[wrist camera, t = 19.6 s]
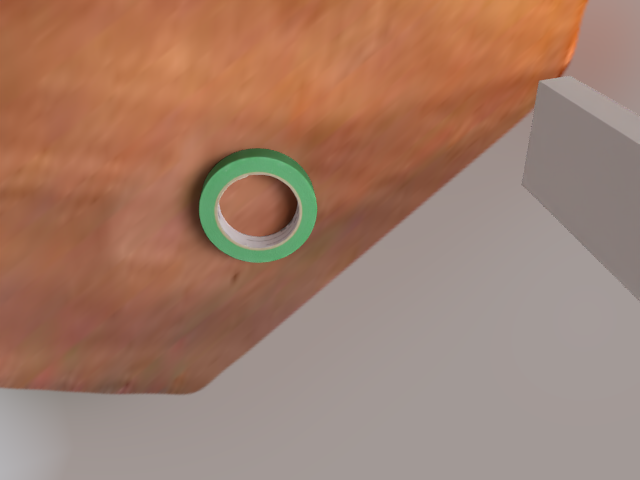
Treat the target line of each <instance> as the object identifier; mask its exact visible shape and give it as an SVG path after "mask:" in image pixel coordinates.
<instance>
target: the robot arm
mask: <svg viewBox="0 0 640 480" xmlns="http://www.w3.org/2000/svg"><path fill="white" fill-rule="evenodd" d="M522 185H523V186H524V187H525V188H526V189H527V190H528V191H529V192H530V193H531V194H532V195H533V196H534V197H535V198H536V199H537V200H538V201H539V202H540V203H541V204H542V205H543V206H544V207H545V208H546V209H547V210H548V211H549V212H550V213H551V214H552V215H553V216H554V217H555V218H556V219H557V220H558V221H559V222H560V223H561V224H562V225H563V226H564V227H565V228H566V229H567V230H568V231H570V233H571V234H572V235H573V236H574V237H575V238H576V239H577V240H578V241H579V242H580V243H581V244H582V245H583V246H584V247H585V248H586V249H587V250H588V251H589V252H590V253H591V254H592V255H593V256H594V257H595V258H596V259H597V260H598V261H599V262H601V264H603V265H604V266H605V268H606V269H607V270H609V271H610V273H612V275H614V276H615V277H616V278H617V279H618V280H619V281H620V282H621V283H622V284H623V285H624V286H625V287H626V288H627V289H628V290H629V291H630V292H631V293H632V294H633V295H634V296H635V297H636V298H637V299H638V300H639V301H640V115H638V114H636V113H635V112H633V111H631V110H629V109H628V108H626V107H624V106H622V105H621V104H619V103H617V102H615V101H614V100H612V99H610V98H608V97H606V96H605V95H603V94H601V93H599V92H598V91H596V90H594V89H592V88H591V87H589V86H587V85H585V84H584V83H582V82H580V81H578V80H576V79H575V78H573V77H571V76H566V77H560V78H554V79H547V80H541V81H539V84H538V90H537V96H536V102H535V108H534V114H533V120H532V126H531V132H530V138H529V143H528V150H527V155H526V161H525V167H524V173H523V179H522Z"/></svg>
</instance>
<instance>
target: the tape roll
mask: <svg viewBox="0 0 640 480" xmlns="http://www.w3.org/2000/svg"><path fill="white" fill-rule="evenodd" d="M248 175H268V176H272V177H275V178H277V179H279V180H281V181H282V182H284V183H285V184H286V185H287V186H289V187H290V189H291V190H292V191H293V193H294V194H295V196H296V198H297V200H298V204H297V210H296V213H295V215H294V217H293V219H292V220H291V222H290V223H289V224H288V225H287V226H286V227H285V228H283V229H282V230H281V231H279V232H277V233H275V234H272V235H268V236H261V237H256V236H249V235H246V234H243V233H240V232H238V231H237V230H235V229H234V228H232V227H231V226H230V225H229V224H228V223H227V222H226V220H225V219H224V217H223V216H222V213H221V210H220V207H219V200H220V197H221V196H222V194H223V193H224V191H225V190H226V189H227V187H228V186H230V185H231V184H232V183H233V182H235V181H236V180H239V179H241V178H245V177H247V176H248ZM316 215H317V203H316V197H315V193H314V189H313V186H312V183H311V181H310V178H309V177H308V175H307V173H306V172H305V171H304V169H303V168H302V167H301V166H300V165H299V164H298V163H297V162H296V161H294V160H293V159H291V158H290V157H288V156H286V155H285V154H282V153H280V152H277V151H274V150H269V149H260V148H256V149H246V150H242V151H238V152H235V153H233V154H231V155H229V156H227V157H225V158H224V159H222V160H221V161H220V162H219V163H217V164H216V165H215V166H214V167H213V169H212V170H211V171H210V173H209V174H208V176H207V177H206V179H205V182H204V184H203V188H202V191H201V196H200V201H199V217H200V221H201V225H202V227H203V230H204V232H205V234H206V235H207V237H208V238H209V240H210V241H211V242H212V243H213V244H214V245H215V246H216V247H217V248H218V249H220V250H221V251H222V252H224V253H225V254H227V255H229V256H231V257H233V258H236V259H239V260H243V261H247V262H257V263H258V262H269V261H274V260H278V259H281V258H283V257H286V256H288V255H289V254H291V253H293V252H294V251H296V250H297V249H298V248H299V247H300V246H301V245H302V244H303V243H304V242H305V241H306V240H307V238H308V237H309V235H310V233H311V232H312V229H313V227H314V224H315V221H316Z"/></svg>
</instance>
